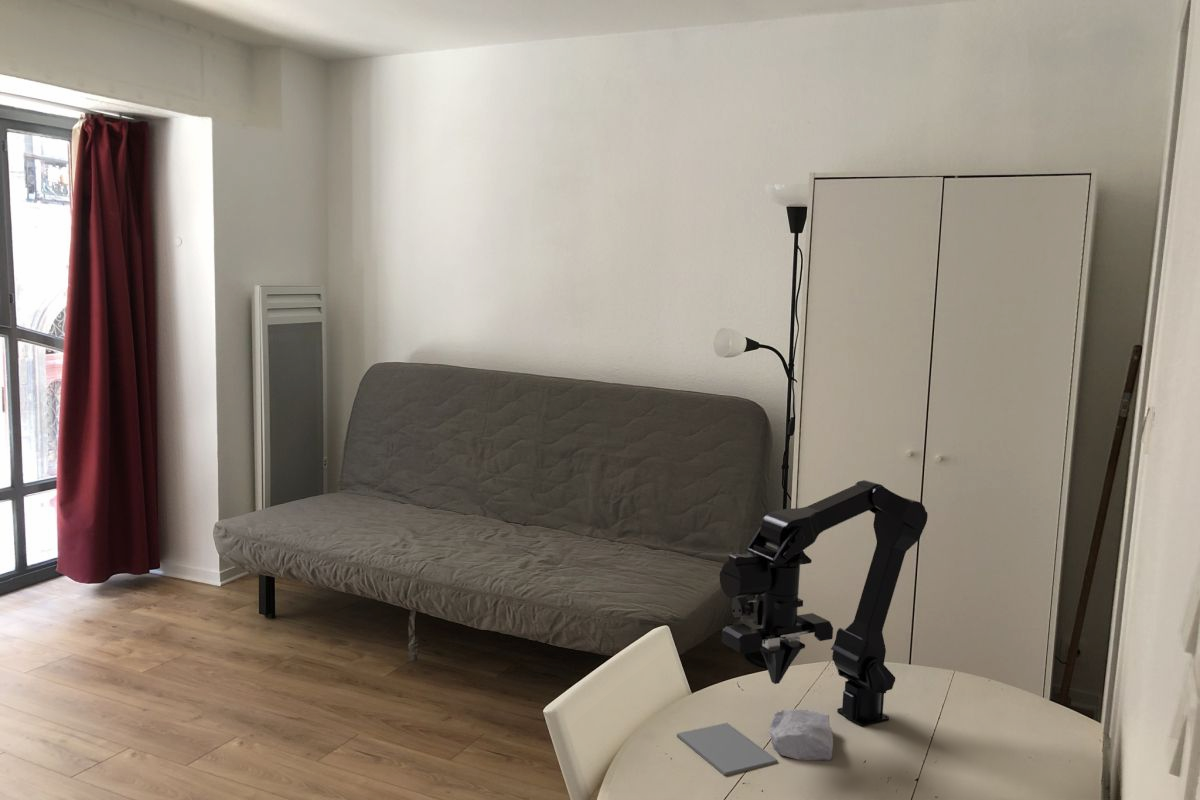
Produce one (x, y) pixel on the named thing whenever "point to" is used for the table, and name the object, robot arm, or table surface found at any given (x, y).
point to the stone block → (802, 734)
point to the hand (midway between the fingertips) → (775, 682)
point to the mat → (726, 748)
